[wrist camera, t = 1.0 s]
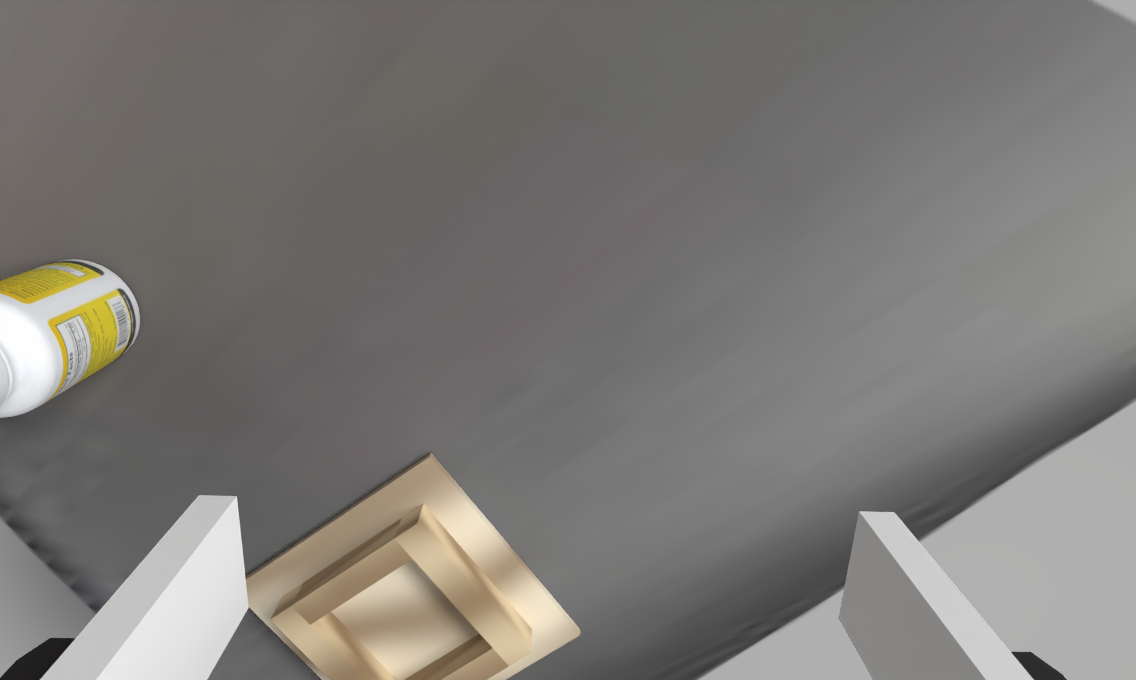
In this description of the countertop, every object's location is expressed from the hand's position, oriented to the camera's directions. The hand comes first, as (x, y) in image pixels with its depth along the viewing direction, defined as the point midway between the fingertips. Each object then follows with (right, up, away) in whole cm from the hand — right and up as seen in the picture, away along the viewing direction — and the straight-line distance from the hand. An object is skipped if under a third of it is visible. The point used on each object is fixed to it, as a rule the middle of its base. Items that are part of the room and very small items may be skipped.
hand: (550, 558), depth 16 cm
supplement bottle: (-24, +6, +21) cm, 32 cm away
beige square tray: (-9, -11, +27) cm, 30 cm away
